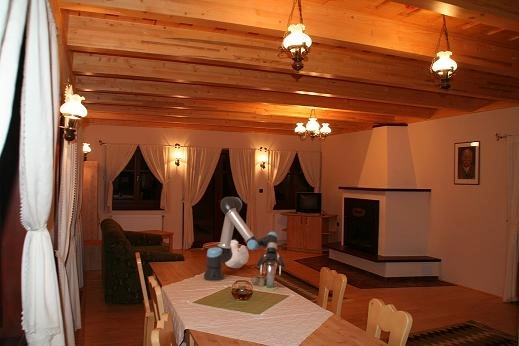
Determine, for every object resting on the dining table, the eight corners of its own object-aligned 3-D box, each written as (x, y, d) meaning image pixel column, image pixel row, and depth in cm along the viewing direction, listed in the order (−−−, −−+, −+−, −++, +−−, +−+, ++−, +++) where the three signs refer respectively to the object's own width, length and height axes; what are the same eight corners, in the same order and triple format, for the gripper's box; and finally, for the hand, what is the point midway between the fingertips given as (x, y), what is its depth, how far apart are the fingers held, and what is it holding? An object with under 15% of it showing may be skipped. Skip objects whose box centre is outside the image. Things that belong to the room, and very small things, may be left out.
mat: (260, 288, 291) (260, 287, 291) (266, 286, 300) (267, 285, 300) (273, 290, 286) (273, 289, 286) (279, 288, 295) (279, 287, 295)
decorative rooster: (221, 266, 370) (223, 239, 371) (236, 265, 379) (237, 238, 380) (236, 271, 349) (237, 242, 351) (251, 270, 358) (252, 242, 360)
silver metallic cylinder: (263, 287, 292) (264, 262, 293) (267, 285, 298) (268, 261, 299) (272, 289, 289) (273, 263, 290) (276, 287, 295) (277, 262, 296)
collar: (251, 284, 302) (251, 277, 303) (258, 282, 312) (258, 275, 312) (264, 286, 297) (264, 279, 297) (270, 284, 307) (271, 277, 307)
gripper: (288, 253, 309) (287, 277, 293) (255, 252, 310) (253, 276, 295) (288, 247, 304) (288, 271, 288) (255, 246, 305) (252, 270, 290)
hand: (270, 274), depth 291 cm, fingers open, 13 cm apart
